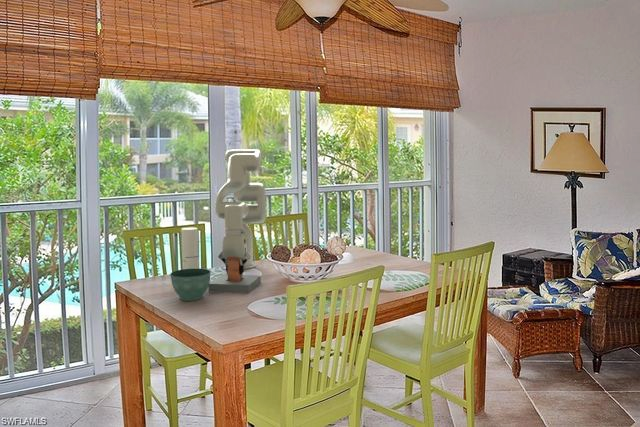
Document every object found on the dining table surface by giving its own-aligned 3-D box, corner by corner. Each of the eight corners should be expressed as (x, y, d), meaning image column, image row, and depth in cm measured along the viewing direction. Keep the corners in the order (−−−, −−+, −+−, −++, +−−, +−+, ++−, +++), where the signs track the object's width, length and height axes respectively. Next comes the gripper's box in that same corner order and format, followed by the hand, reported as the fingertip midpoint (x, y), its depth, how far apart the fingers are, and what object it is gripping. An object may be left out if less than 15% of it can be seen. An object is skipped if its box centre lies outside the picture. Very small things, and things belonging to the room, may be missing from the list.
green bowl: (163, 299, 251) (162, 273, 250) (194, 291, 263) (193, 266, 262) (187, 305, 241) (186, 278, 239) (219, 297, 253) (218, 271, 252)
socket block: (222, 281, 280) (222, 274, 279) (260, 283, 277) (260, 275, 276) (208, 291, 262) (208, 283, 262) (249, 293, 259) (248, 285, 259)
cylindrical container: (195, 285, 273) (193, 230, 270) (180, 284, 274) (178, 229, 271) (201, 281, 280) (200, 227, 277) (187, 281, 281) (185, 227, 278)
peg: (231, 281, 272) (230, 254, 270) (242, 281, 271) (241, 255, 270) (227, 284, 267) (227, 257, 266) (238, 284, 266) (238, 257, 265)
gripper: (255, 231, 268) (256, 272, 271) (218, 230, 271) (219, 271, 274) (250, 234, 261) (251, 276, 263) (212, 233, 264) (213, 274, 266)
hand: (234, 273), depth 269 cm, fingers closed on peg, 4 cm apart
